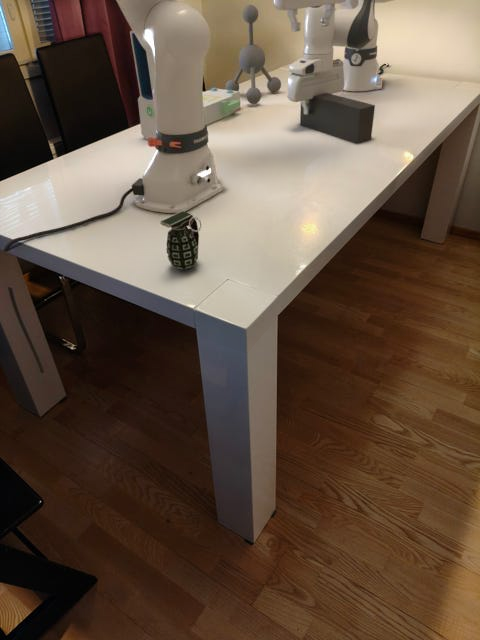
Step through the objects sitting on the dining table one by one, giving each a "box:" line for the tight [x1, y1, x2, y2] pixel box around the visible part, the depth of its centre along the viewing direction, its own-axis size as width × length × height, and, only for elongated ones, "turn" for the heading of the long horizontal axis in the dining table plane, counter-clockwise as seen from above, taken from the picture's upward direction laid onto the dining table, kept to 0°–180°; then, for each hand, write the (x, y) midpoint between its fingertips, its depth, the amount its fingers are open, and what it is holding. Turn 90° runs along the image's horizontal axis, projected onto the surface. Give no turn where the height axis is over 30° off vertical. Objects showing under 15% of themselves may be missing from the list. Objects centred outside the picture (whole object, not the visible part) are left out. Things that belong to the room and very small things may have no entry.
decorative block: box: [202, 87, 241, 126], centre depth 168 cm, size 26×6×20 cm
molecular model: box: [224, 4, 282, 105], centre depth 179 cm, size 24×22×30 cm
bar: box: [299, 93, 376, 144], centre depth 147 cm, size 26×6×10 cm, turn 34°
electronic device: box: [129, 29, 158, 140], centre depth 143 cm, size 12×8×30 cm, turn 47°
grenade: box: [159, 211, 202, 271], centre depth 88 cm, size 7×6×10 cm
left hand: (310, 28), depth 118 cm, fingers open, 8 cm apart
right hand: (315, 111), depth 153 cm, fingers closed on bar, 6 cm apart
